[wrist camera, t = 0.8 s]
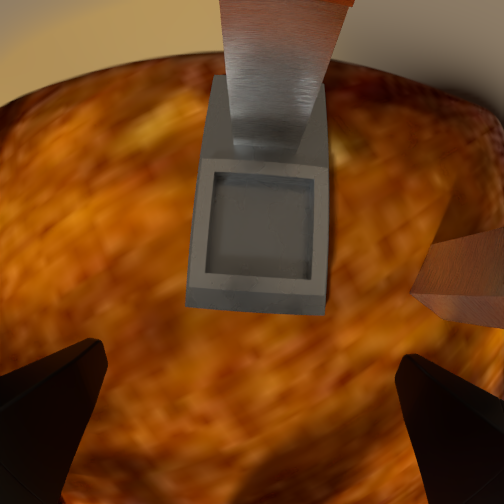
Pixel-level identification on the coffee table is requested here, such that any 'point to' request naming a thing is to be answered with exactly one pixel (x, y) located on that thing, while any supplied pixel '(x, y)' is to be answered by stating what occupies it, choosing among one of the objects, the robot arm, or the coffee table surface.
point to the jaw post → (465, 279)
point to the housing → (266, 162)
